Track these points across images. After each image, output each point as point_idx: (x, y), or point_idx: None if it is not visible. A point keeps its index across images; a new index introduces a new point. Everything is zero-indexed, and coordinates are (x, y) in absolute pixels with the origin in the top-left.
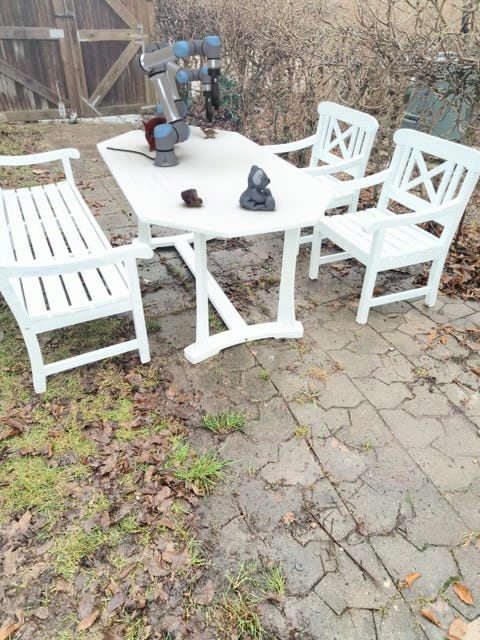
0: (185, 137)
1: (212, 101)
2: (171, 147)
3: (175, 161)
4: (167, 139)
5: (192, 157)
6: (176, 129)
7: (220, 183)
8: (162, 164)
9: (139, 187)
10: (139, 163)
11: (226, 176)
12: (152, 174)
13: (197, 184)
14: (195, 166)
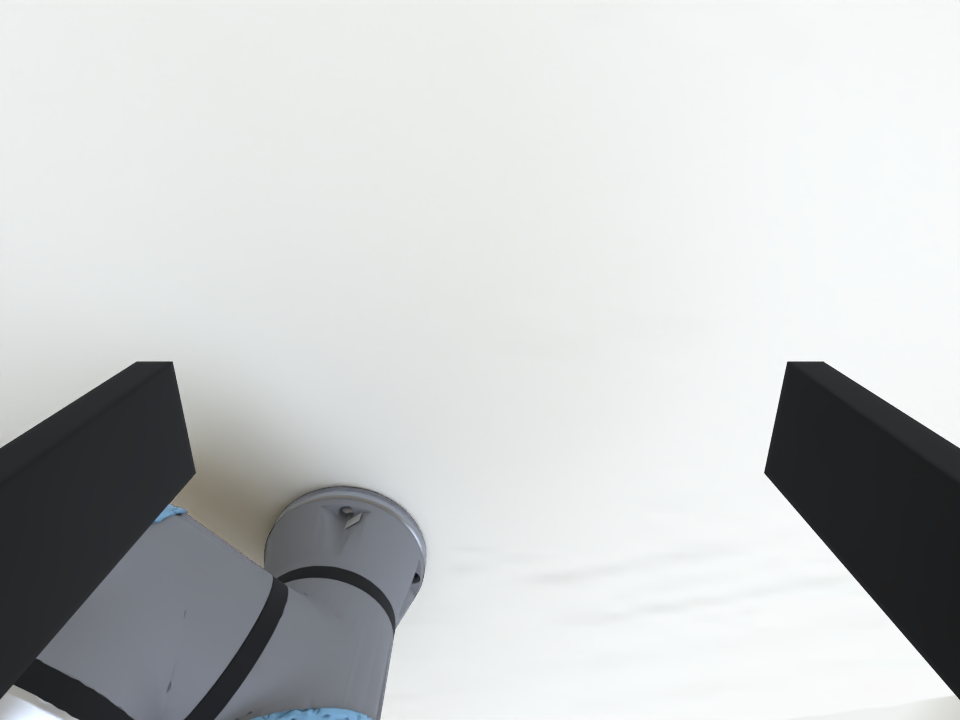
0: (189, 524)
1: (113, 526)
2: (366, 603)
3: (390, 516)
4: (374, 682)
5: (195, 382)
6: (223, 664)
7: (914, 254)
8: (421, 584)
9: (781, 677)
10: None
11: (769, 184)
12: (568, 624)
13: None
14: (448, 381)
